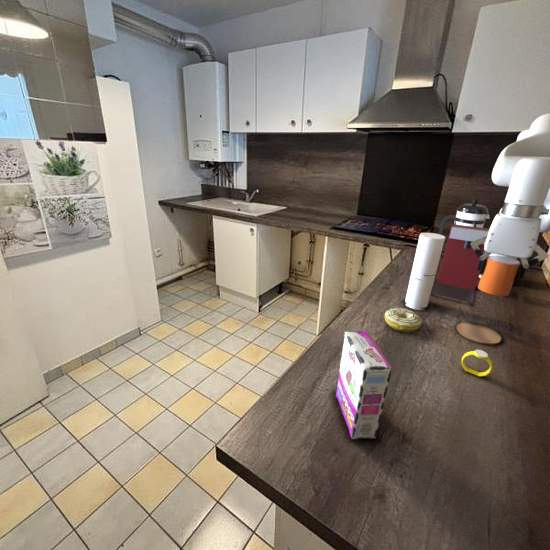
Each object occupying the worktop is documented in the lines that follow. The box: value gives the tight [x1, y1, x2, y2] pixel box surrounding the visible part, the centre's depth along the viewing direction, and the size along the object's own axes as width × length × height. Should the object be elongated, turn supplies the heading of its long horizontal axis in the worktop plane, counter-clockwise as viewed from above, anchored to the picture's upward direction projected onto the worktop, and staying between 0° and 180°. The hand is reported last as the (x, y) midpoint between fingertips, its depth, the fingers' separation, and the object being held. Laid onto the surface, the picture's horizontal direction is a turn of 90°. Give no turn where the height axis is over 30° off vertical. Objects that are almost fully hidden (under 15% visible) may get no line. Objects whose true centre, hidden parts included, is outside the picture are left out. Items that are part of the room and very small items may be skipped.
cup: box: [477, 255, 521, 297], centre depth 79 cm, size 7×7×9 cm
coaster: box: [456, 321, 502, 346], centre depth 86 cm, size 11×11×1 cm
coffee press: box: [437, 198, 491, 258], centre depth 143 cm, size 17×16×30 cm
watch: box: [461, 349, 493, 377], centre depth 69 cm, size 6×3×6 cm, turn 53°
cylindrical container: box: [404, 232, 446, 311], centre depth 97 cm, size 7×7×25 cm
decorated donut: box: [384, 307, 423, 333], centre depth 89 cm, size 10×11×4 cm
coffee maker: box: [431, 223, 490, 304], centre depth 108 cm, size 18×13×24 cm
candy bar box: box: [335, 330, 393, 440], centre depth 55 cm, size 11×5×16 cm, turn 5°
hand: (497, 276), depth 79 cm, fingers closed on cup, 7 cm apart
